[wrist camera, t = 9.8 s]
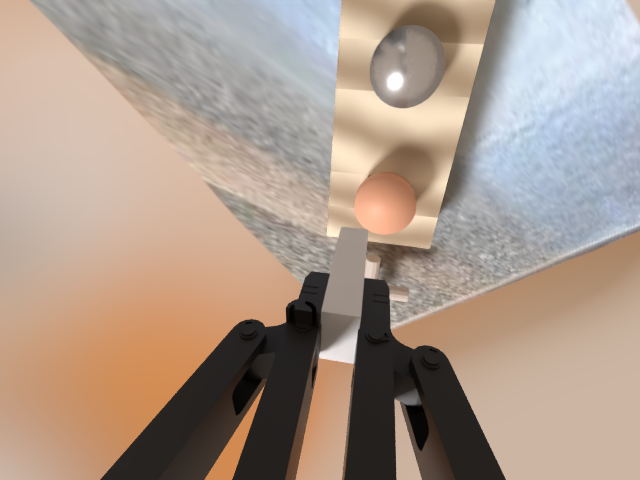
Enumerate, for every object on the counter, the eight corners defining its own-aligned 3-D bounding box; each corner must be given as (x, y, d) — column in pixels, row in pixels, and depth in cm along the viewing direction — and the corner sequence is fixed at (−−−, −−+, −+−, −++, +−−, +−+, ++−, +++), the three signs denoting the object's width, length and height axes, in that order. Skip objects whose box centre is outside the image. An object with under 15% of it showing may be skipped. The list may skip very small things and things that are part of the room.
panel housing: (349, -9, 30) (342, -22, 25) (480, -6, 29) (500, -18, 24) (333, 214, 43) (326, 235, 38) (424, 224, 41) (429, 248, 36)
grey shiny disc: (376, 29, 31) (374, 23, 25) (439, 31, 30) (454, 26, 24) (369, 95, 34) (365, 105, 28) (426, 99, 33) (435, 110, 27)
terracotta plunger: (362, 154, 36) (357, 175, 30) (415, 159, 35) (422, 182, 29) (356, 201, 39) (351, 230, 33) (405, 207, 39) (410, 238, 32)
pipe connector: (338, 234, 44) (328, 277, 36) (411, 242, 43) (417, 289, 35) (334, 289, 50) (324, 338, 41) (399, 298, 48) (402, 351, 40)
